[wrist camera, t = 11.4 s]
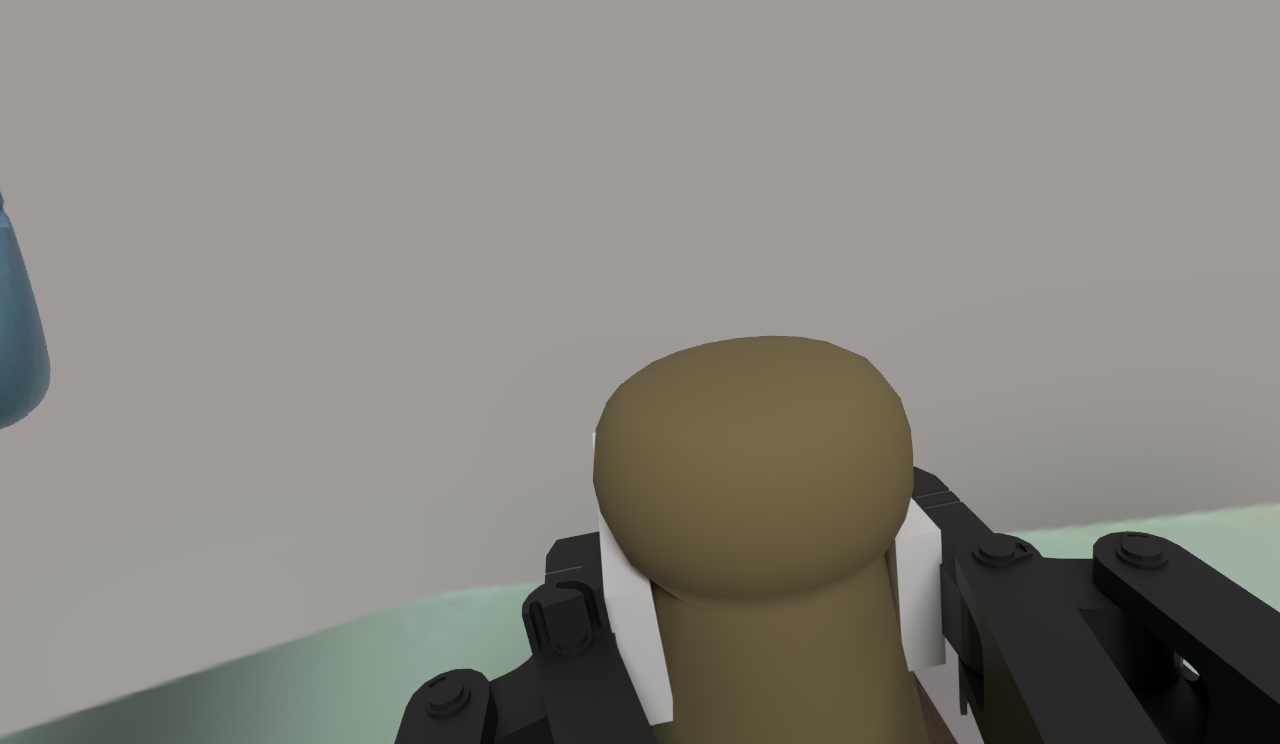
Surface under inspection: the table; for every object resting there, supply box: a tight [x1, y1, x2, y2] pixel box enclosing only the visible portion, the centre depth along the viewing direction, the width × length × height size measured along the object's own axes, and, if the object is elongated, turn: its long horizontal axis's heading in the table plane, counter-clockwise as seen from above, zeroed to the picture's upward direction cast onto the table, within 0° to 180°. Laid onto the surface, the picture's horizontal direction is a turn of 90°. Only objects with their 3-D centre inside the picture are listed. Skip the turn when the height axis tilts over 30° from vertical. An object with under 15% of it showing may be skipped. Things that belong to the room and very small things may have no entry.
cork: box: [593, 336, 930, 744], centre depth 14 cm, size 6×6×11 cm
